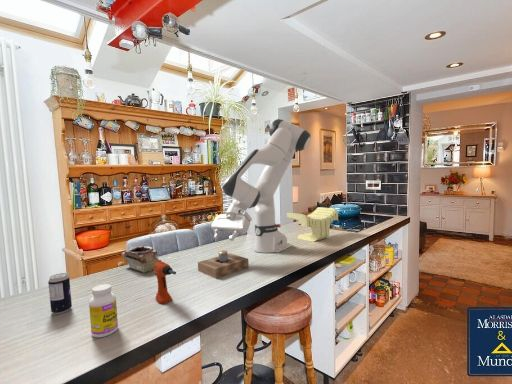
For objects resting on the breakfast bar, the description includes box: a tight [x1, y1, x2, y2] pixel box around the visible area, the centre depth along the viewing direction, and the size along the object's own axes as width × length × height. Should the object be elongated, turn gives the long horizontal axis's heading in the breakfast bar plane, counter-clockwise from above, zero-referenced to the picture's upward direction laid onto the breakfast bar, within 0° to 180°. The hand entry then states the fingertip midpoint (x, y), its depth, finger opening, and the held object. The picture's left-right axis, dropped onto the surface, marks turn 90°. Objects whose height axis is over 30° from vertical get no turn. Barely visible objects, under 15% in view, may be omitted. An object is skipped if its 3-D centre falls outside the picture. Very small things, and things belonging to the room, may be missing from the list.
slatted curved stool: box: [286, 206, 339, 242], centre depth 176 cm, size 30×16×18 cm, turn 129°
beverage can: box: [47, 272, 73, 315], centre depth 92 cm, size 6×6×12 cm
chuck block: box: [197, 252, 250, 279], centre depth 127 cm, size 18×14×4 cm
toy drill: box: [153, 259, 177, 305], centre depth 94 cm, size 5×18×14 cm, turn 38°
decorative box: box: [121, 245, 160, 273], centre depth 132 cm, size 13×20×10 cm, turn 46°
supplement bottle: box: [88, 283, 119, 338], centre depth 78 cm, size 7×7×13 cm
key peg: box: [218, 250, 229, 263], centre depth 126 cm, size 4×4×8 cm
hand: (223, 239), depth 128 cm, fingers open, 8 cm apart
